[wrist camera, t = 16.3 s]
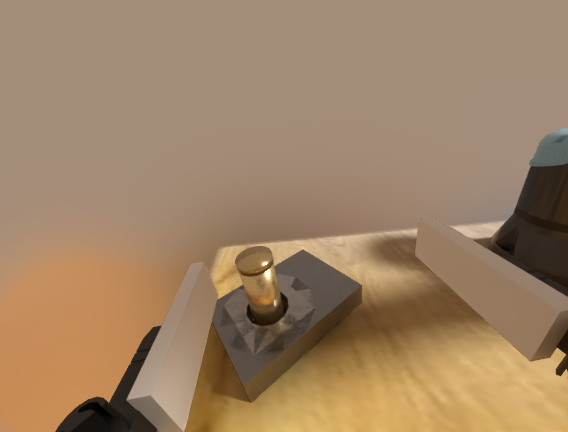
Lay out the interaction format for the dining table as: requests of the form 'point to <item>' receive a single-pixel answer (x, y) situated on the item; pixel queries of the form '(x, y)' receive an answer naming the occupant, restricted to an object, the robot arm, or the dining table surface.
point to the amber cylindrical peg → (260, 284)
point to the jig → (284, 320)
